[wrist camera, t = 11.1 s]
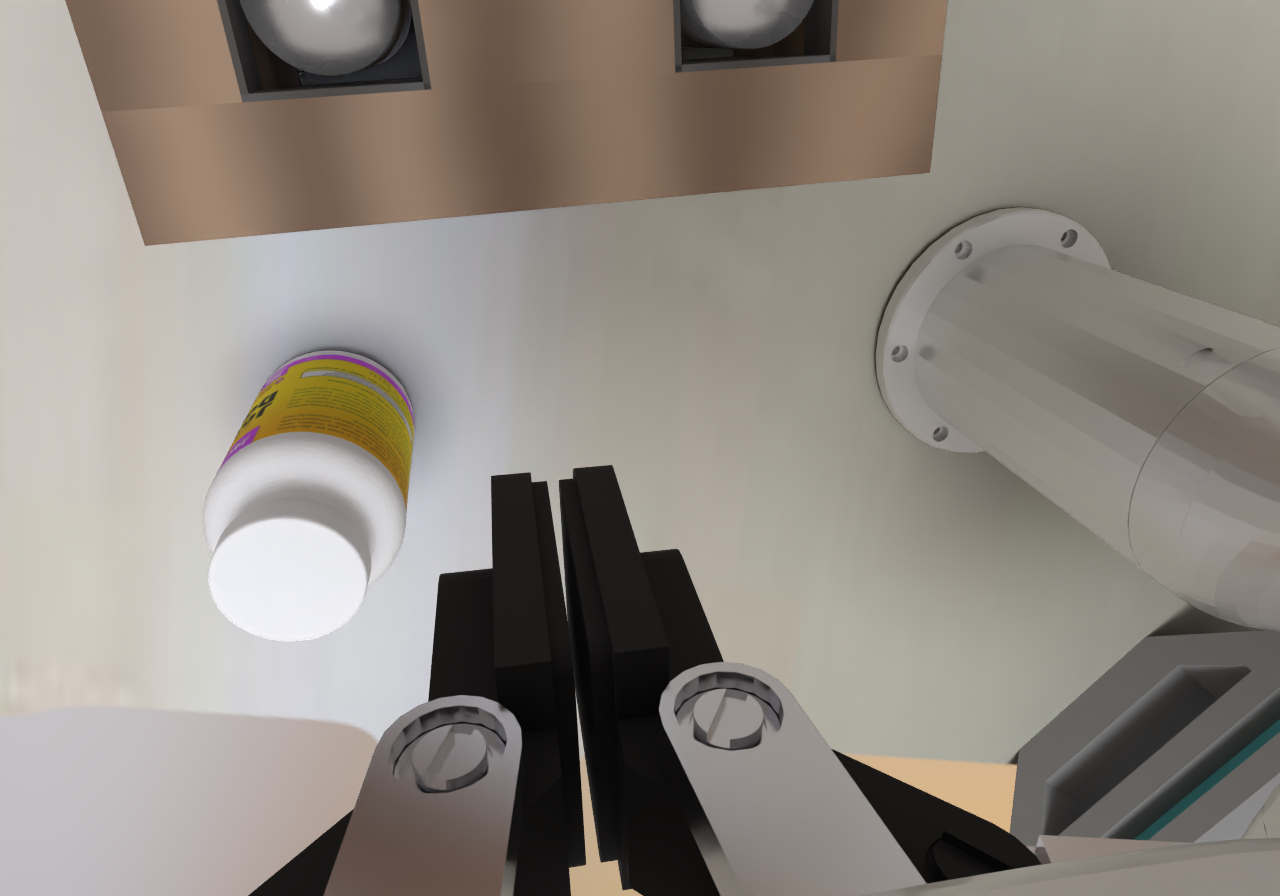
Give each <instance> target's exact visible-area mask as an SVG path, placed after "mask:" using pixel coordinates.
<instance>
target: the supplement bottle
mask: <svg viewBox="0 0 1280 896" xmlns="http://www.w3.org/2000/svg"><path fill="white" fill-rule="evenodd" d="M414 424H415V423H414V414H413V408H412V405H411V402H410V400H409V397H408V395H407V393H406V391H405V390H404V388H403V387H402V385H401V384H400V382H399V381H398V380H397V379H396V378H395V377H394V376H393V375H392V374H391V373H390V372H389V371H388V370H386V369H385V368H384V367H382V366H381V365H379V364H378V363H376V362H374V361H372V360H371V359H368V358H366V357H364V356H361V355H357V354H354V353H350V352H344V351H334V350H327V351H317V352H312V353H308V354H304V355H301V356H298V357H296V358H294V359H292V360H290V361H288V362H287V363H285V364H284V365H282V366H281V367H279V368H278V369H277V370H276V371H275V372H274V373H273V374H272V375H271V376H270V378H269V379H268V380H267V381H266V383H265V384H264V386H263V388H262V389H261V391H260V393H259V394H258V396H257V398H256V400H255V402H254V404H253V406H252V408H251V409H250V411H249V413H248V415H247V417H246V419H245V420H244V422H243V424H242V426H241V428H240V430H239V432H238V434H237V436H236V437H235V440H234V442H233V444H232V446H231V447H230V449H229V451H228V453H227V455H226V457H225V459H224V461H223V463H222V465H221V467H220V468H219V470H218V472H217V474H216V476H215V478H214V480H213V482H212V484H211V486H210V488H209V490H208V493H207V496H206V499H205V503H204V509H203V529H204V534H205V538H206V541H207V544H208V547H209V549H210V551H211V553H212V557H211V560H210V564H209V568H208V584H209V590H210V593H211V596H212V598H213V600H214V602H215V604H216V606H217V607H218V608H219V610H220V611H221V612H222V614H223V615H224V616H225V617H226V618H227V619H229V620H230V621H231V622H232V623H234V624H235V625H236V626H238V627H240V628H241V629H243V630H245V631H247V632H249V633H251V634H253V635H256V636H259V637H262V638H266V639H270V640H277V641H287V642H288V641H304V640H310V639H315V638H318V637H321V636H324V635H326V634H329V633H331V632H333V631H335V630H337V629H338V628H340V627H341V626H343V625H344V624H345V623H347V622H348V621H349V620H350V619H351V618H352V617H353V616H354V615H355V614H356V612H357V611H358V610H359V608H360V606H361V605H362V603H363V600H364V598H365V595H366V591H367V588H368V587H369V586H371V585H372V584H373V583H375V582H376V581H377V580H378V579H379V578H380V577H381V576H382V575H383V574H384V573H385V572H386V571H387V570H388V568H389V567H390V566H391V564H392V563H393V561H394V560H395V558H396V556H397V554H398V552H399V550H400V547H401V544H402V542H403V538H404V533H405V525H406V511H407V499H408V489H409V479H410V469H411V459H412V450H413V440H414Z"/></svg>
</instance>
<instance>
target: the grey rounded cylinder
mask: <svg viewBox="0 0 1280 896" xmlns="http://www.w3.org/2000/svg"><path fill="white" fill-rule="evenodd" d="M813 1H814V0H680V23H681V47H693V48H749V49H755V48H762V47H766V46H769V45H772V44H774V43H776V42H779V41H780V40H782V39H783V38H785V37H787V36H788V35H789V34H790V33H791V32H793V31H794V30H795V29H796V28H797V26H798V25H799V24H800V23H801V22H802V20H803V19H804V18H805V16H806V15H807V13H808V11H809V10H810V8H811V6H812V3H813Z"/></svg>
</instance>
